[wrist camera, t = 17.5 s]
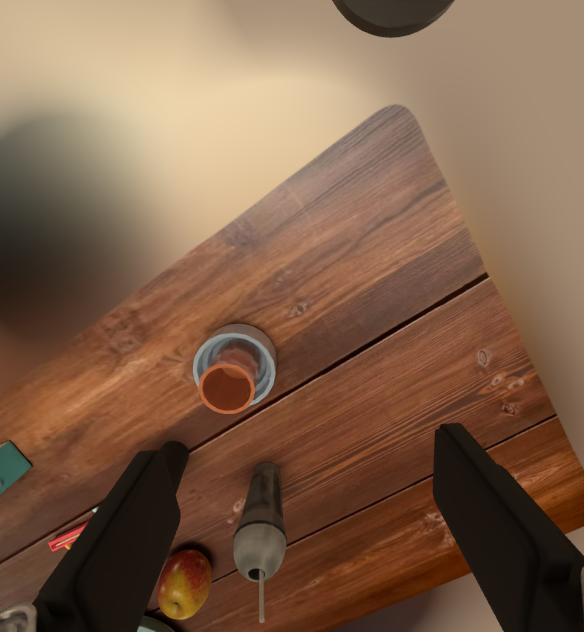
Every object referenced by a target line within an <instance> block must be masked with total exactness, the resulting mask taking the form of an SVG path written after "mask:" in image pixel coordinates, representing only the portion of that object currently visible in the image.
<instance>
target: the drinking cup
mask: <svg viewBox="0 0 584 632" xmlns="http://www.w3.org/2000/svg"><path fill="white" fill-rule="evenodd" d="M159 453H160V454H163V455H164V457H165V461H166V464H167V468H168V471H169V475H170V478H171V482H172V485H173V489H174V492H175V495H176V492H177V489H178V486H179V483H180V481H181V478H182V475H183V472H184V469H185V466H186V463H187V461H188V458H189V452H188V449H187V448H186V447H185V446H184V445H183V444H181V443H179V442H168V443H166V444H164V445H163V446H162V448H161V449H160V450H159Z"/></svg>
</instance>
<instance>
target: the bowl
mask: <svg viewBox="0 0 584 632" xmlns="http://www.w3.org/2000/svg"><path fill="white" fill-rule="evenodd" d="M236 338H241V339H246V340H248V341H250V342H252V343H254V344H255V345H256V346H257V347H258V349H259V350H260V352H261V355H262V365H261V370H260V374H259V378H258V382H257V386H256V391H255V394H254V398H253V401H252V402H251V403H250V405H249V406H251V405H253V404H255V403H258V402H259V401H260V400H262V399H263V398H264V397H265V396H266V395H267V394H268V393H269V391H270V389H271V388H272V386H273V383H274V378H275V373H276V365H277V357H276V350H275V348H274V346H273V344H272V342H271V340H270V339H269V338H268V337H267V336H266V335H265V334H264V333H263V332H262V331H261V330H259V329H257V328H255V327H253V326H250V325H245V324H230V325H226V326H224V327H222V328H219V329H217V330H216V331H215V332H214V333H213V334H212V335H211V336H209V338H208V339H207V340H206V341H205V342H204V343H203V345H202V346H201V347H200V348H199V350H198V352H197V354H196V356H195V358H194V364H193V374H194V378H195V382H196V384H197V386H199V381H200V377H201V376H202V374H203V373H204V371H205V370H206V368H207V367H208V365H209V364H210V362H211V361H212V359H213V358H214V356H215V355H216V353H217V352H218V350H219V349H220V348H221V346H222V345H223V344H224V343H225V342H227V341H229V340H231V339H236Z"/></svg>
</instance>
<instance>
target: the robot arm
mask: <svg viewBox="0 0 584 632" xmlns="http://www.w3.org/2000/svg"><path fill="white" fill-rule="evenodd" d="M433 496H434V500H435V502H436V504H437V506H438V508H439V510H440V512H441V514H442V516H443V518H444V520H445V522H446V523H447V525H448V527H449V529H450V531H451V533H452V535H453V537H454V539H455V540H456V542H457V544H458V546H459V548H460V550H461V552H462V554H463V556H464V557H465V559H466V561H467V563H468V565H469V567H470V569H471V571H472V573H473V574H474V576H475V578H476V580H477V582H478V584H479V586H480V588H481V590H482V591H483V593H484V595H485V597H486V599H487V601H488V603H489V605H490V606H491V609H492V610H493V612H494V614H495V616H496V618H497V620H498V622H499V624H500V626H501V627H502V629H503V631H504V632H584V556H583V555H582V553H581V552H580V551H579V550H578V549H577V548H576V547H575V546H574V545H573V544H572V542H571V541H570V540H569V539H568V538H567V537H566V536H565V535H564V534H563V532H562V531H561V530H560V529H559V528H558V527H557V526H556V525H555V524H554V522H553V521H552V520H551V519H550V518H549V517H548V516H547V515H546V514H545V512H544V511H543V510H542V509H541V508H540V507H539V506H538V505H537V504H536V502H535V501H534V500H533V499H532V498H531V497H530V496H529V495H528V494H527V492H526V491H525V490H524V489H523V488H522V487H521V486H520V485H519V484H518V482H517V481H516V480H515V479H514V478H513V477H512V476H511V475H510V474H509V472H508V471H507V470H506V469H504V468H503V467H502V466H500V465H498V464H496V463H495V462H494V460H493V459H492V458H491V457H490V456H489V455H488V454H487V453H486V451H485V450H484V449H483V448H482V447H481V446H480V445H479V443H478V442H477V441H476V440H475V439H474V438H473V437H472V436H471V434H470V433H469V432H468V431H467V430H466V429H465V428H464V426H463V425H461V424H460V423H450V424H441V425H440V428H439V429H437V430H436V431H435V444H434V471H433ZM179 523H180V509H179V506H178V502H177V499H176V495H175V492H174V489H173V485H172V482H171V478H170V475H169V471H168V468H167V464H166V461H165V457H164V455H163V454H160V453H159V451H158V450H150V451H140V452H138V453H137V454H136V456H135V457H134V459H133V460H132V461H131V463H130V464H129V466H128V467H127V468H126V470H125V471H124V473H123V474H122V475H121V477H120V478H119V480H118V481H117V483H116V484H115V485H114V487H113V488H112V490H111V491H110V492H109V494H108V495H107V497H106V498H105V499H104V501H103V502H102V504H101V505H100V506H99V508H98V509H97V511H96V512H95V514H94V515H93V516H92V518H91V519H90V521H89V522H88V523H87V525H86V526H85V528H84V529H83V530H82V532H81V533H80V535H79V536H78V537H77V539H76V540H75V542H74V543H73V544H72V546H71V547H70V549H69V550H68V552H67V553H66V554H65V556H64V557H63V559H62V560H61V561H60V563H59V564H58V566H57V567H56V568H55V570H54V571H53V573H52V574H51V575H50V577H49V578H48V580H47V581H46V583H45V584H44V585H43V587H42V588H41V590H40V591H39V595H38V596H37V598H36V599H35V600H34V602H33V603H32V604H31V603H24V602H21V603H18V604H15V605H12V606H9V607H8V608H6V609H4V610H2V611H0V632H137V631H138V628H139V625H140V623H141V620H142V618H143V615H144V613H145V610H146V608H147V605H148V603H149V600H150V597H151V595H152V592H153V590H154V587H155V585H156V582H157V580H158V577H159V574H160V572H161V569H162V567H163V564H164V562H165V559H166V557H167V554H168V552H169V549H170V546H171V544H172V541H173V539H174V536H175V534H176V531H177V529H178V526H179Z"/></svg>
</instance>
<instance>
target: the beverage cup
mask: <svg viewBox="0 0 584 632" xmlns="http://www.w3.org/2000/svg"><path fill="white" fill-rule="evenodd" d="M233 542H234V544H233V547H234V560H235V563H236V566H237V568H238V570H239V572H240V573H241V574H242V575H243V576H244V577H245V578H246V579H248V580H250V581H254V582H259V620H260V622H263V621H264V581H265V580H267V579H269V578H270V577H271V576H273V575H274V574H275V573H276V571H277V570H278V569H279V567H280V565H281V563H282V561H283V558H284V555H285V548H286V545H287V537H286V532H285V526H284V523H283V508H282V491H281V478H280V471H279V468H278V467H277V466H276V465H274V464H272V463H266V462H265V463H261V464H259V465H258V466H257V467H256V468H255V471H254V474H253V477H252V480H251V484H250V488H249V491H248V495H247V499H246V502H245V506H244V510H243V514H242V517H241V520H240V522H239V525H238V527H237V530H236V532H235V534H234V537H233Z"/></svg>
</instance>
